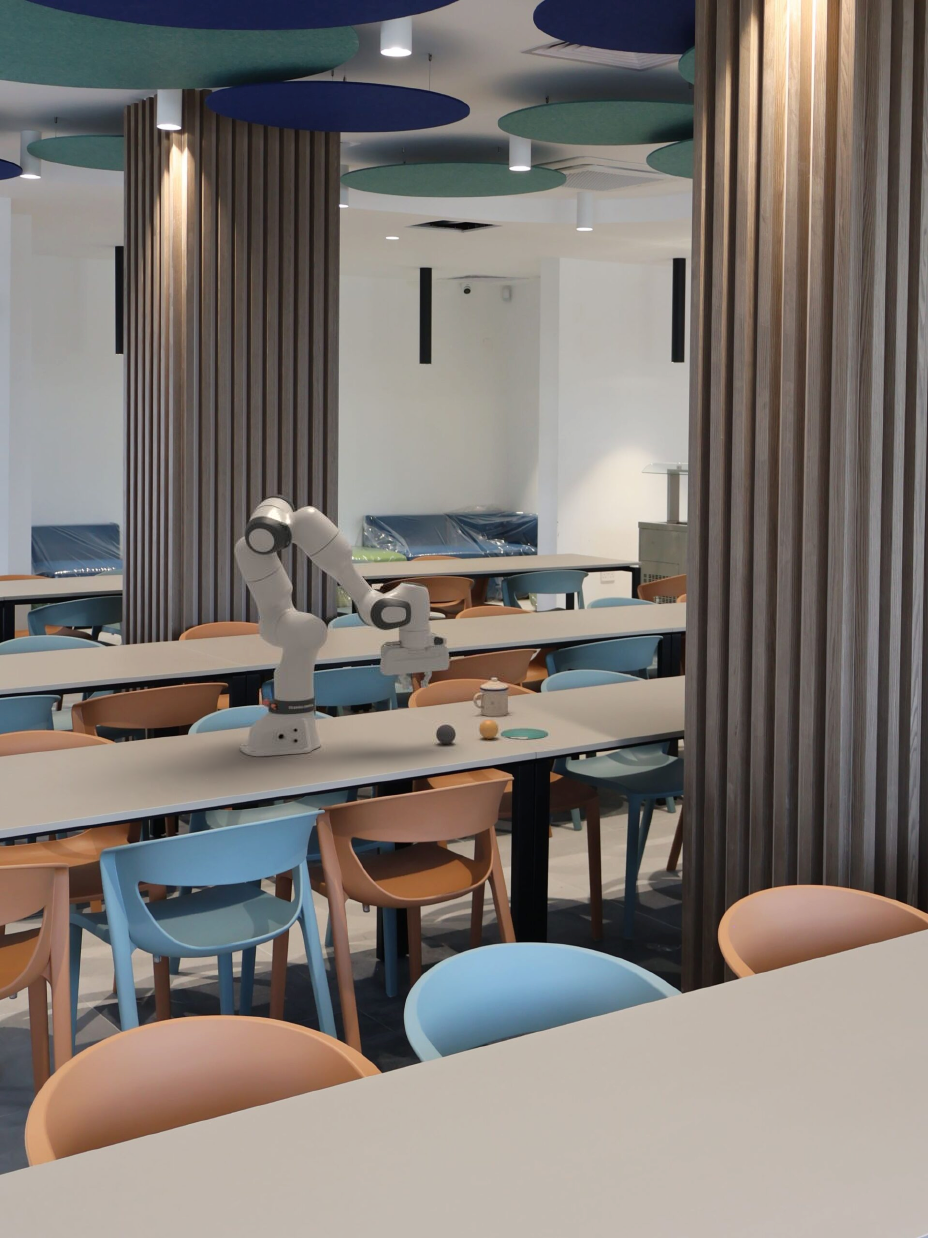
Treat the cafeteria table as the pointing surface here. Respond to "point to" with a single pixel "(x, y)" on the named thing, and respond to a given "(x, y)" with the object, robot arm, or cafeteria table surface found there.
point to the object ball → (488, 729)
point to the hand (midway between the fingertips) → (415, 688)
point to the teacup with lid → (493, 698)
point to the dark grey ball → (445, 734)
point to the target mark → (525, 733)
